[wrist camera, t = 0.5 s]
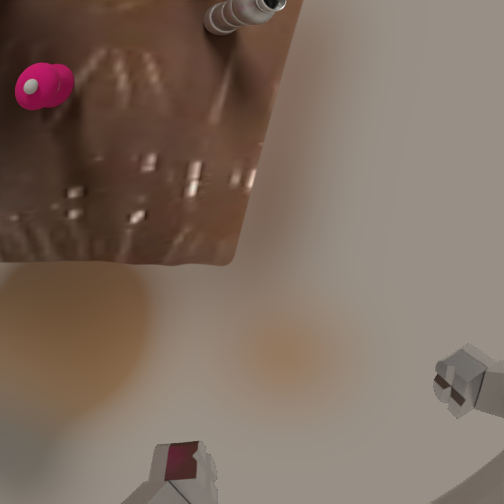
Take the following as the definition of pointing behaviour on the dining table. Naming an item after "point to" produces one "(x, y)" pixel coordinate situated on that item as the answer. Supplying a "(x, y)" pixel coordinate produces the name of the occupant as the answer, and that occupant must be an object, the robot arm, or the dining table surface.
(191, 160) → the dining table surface
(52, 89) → the magenta pepper grinder
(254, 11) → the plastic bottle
